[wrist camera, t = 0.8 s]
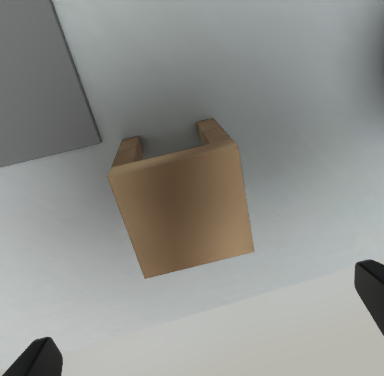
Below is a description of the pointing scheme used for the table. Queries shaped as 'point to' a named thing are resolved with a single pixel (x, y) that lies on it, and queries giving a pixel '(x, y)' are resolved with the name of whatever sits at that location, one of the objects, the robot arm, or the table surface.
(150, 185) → the stool
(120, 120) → the table surface
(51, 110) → the mat
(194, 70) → the table surface
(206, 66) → the table surface
